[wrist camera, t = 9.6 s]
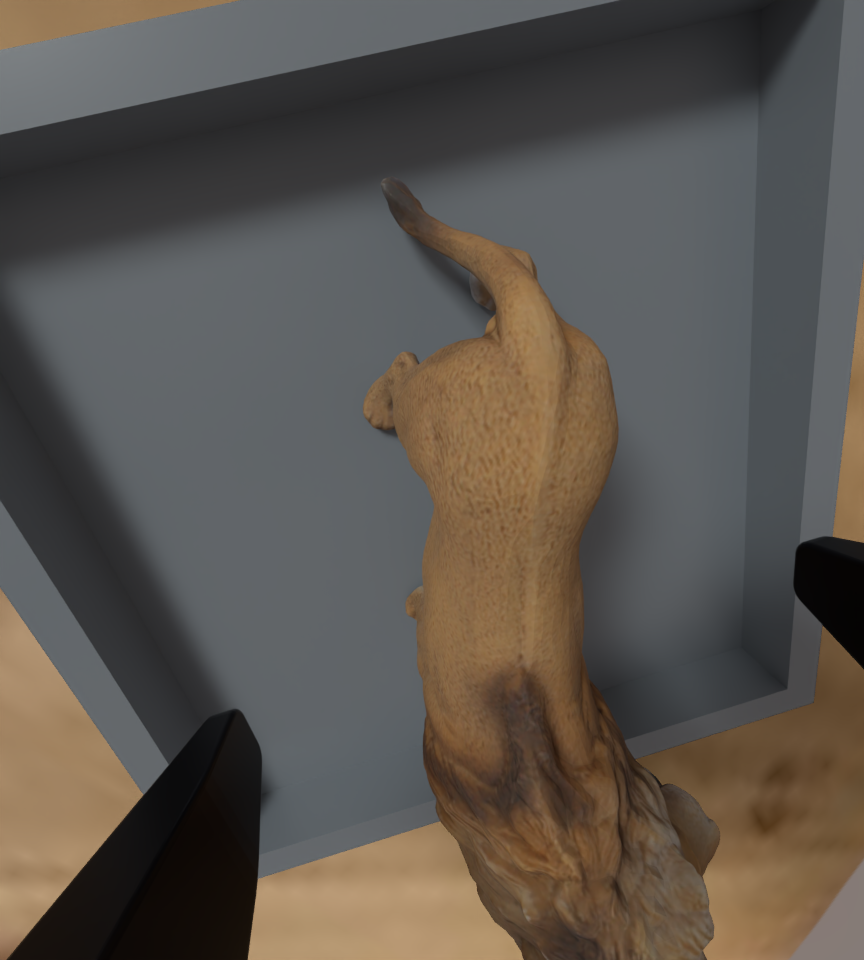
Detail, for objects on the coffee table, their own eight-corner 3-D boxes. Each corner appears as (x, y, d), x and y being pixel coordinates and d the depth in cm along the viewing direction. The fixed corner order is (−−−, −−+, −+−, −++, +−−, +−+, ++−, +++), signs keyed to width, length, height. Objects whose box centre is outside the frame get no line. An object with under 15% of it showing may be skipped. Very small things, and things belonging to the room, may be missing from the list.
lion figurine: (584, 653, 16) (821, 1022, 8) (433, 704, 16) (520, 1135, 8) (495, 153, 11) (978, -293, 2) (259, 218, 11) (-71, -36, 2)
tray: (755, 651, 18) (813, 702, 16) (229, 812, 17) (211, 893, 15) (788, -47, 11) (907, -138, 8) (-163, 158, 10) (-325, 117, 7)
